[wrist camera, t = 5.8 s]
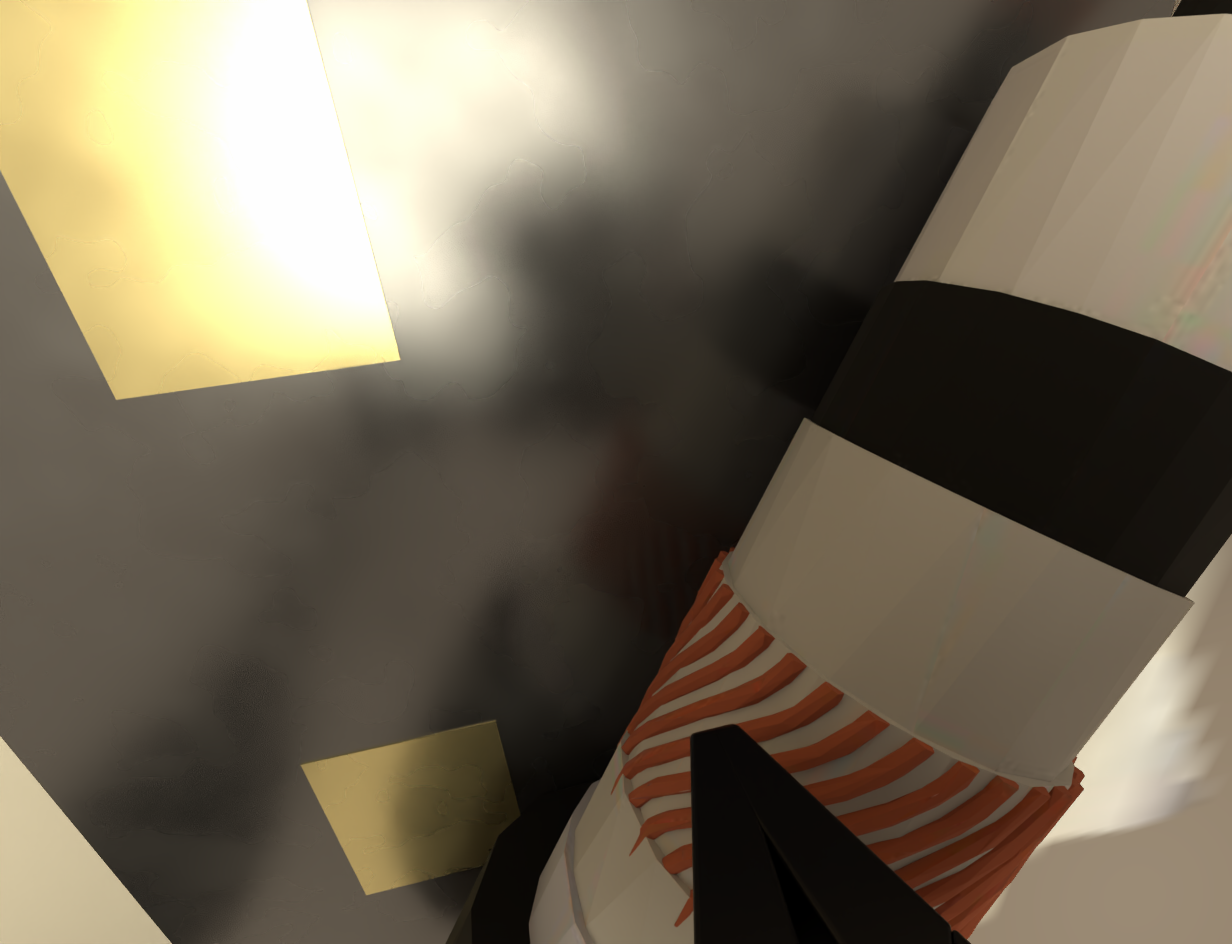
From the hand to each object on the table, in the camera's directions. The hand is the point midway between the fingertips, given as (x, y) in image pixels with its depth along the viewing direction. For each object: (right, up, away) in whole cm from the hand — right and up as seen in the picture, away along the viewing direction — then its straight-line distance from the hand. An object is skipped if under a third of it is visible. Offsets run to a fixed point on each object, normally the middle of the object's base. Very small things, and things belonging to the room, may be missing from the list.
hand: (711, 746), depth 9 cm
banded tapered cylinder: (+2, +1, +7) cm, 8 cm away
